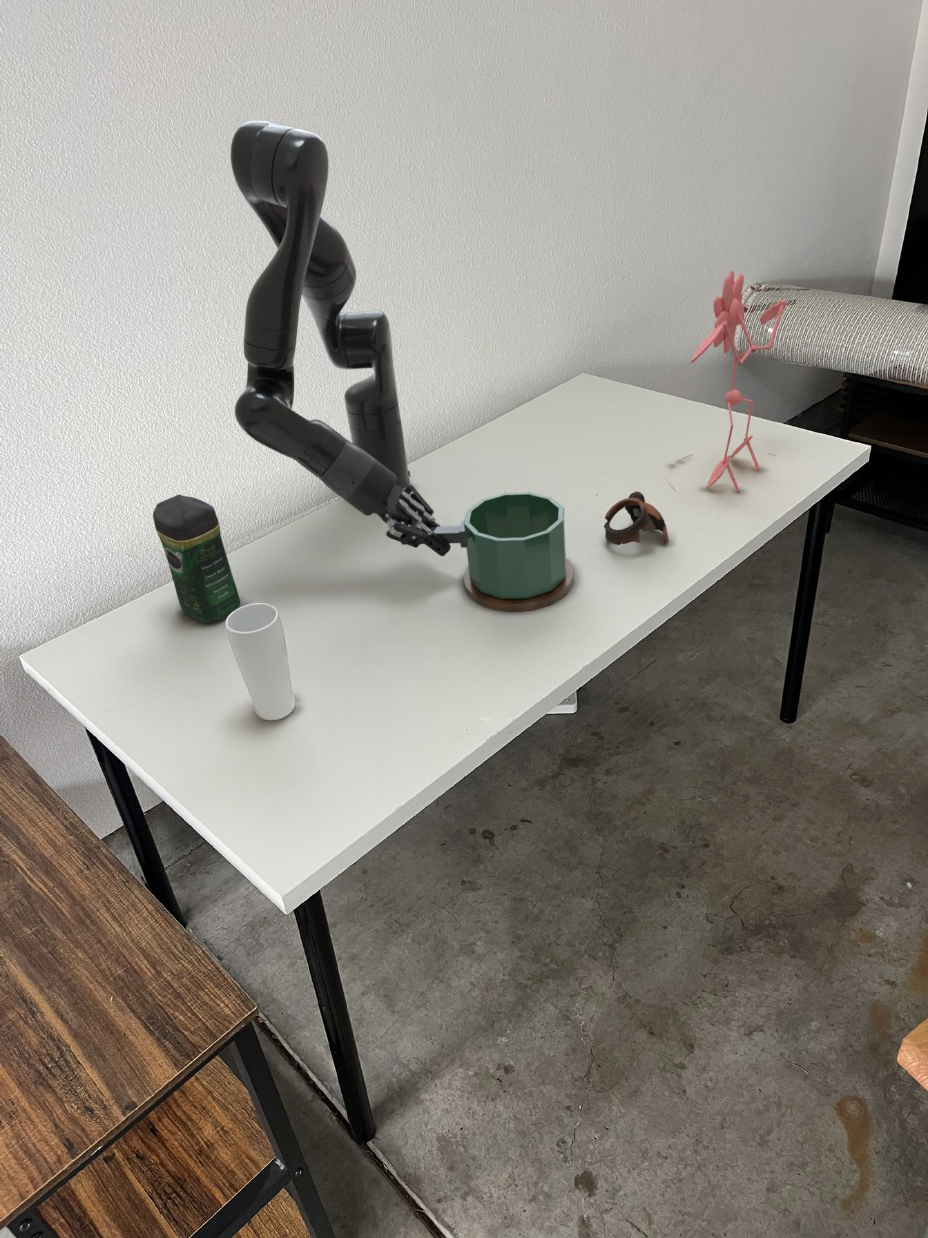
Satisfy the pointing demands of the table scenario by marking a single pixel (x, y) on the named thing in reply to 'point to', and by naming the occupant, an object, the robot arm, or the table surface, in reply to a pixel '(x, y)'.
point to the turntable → (522, 603)
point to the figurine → (728, 317)
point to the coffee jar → (196, 558)
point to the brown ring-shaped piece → (634, 520)
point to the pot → (512, 544)
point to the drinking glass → (262, 658)
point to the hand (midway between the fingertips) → (448, 546)
